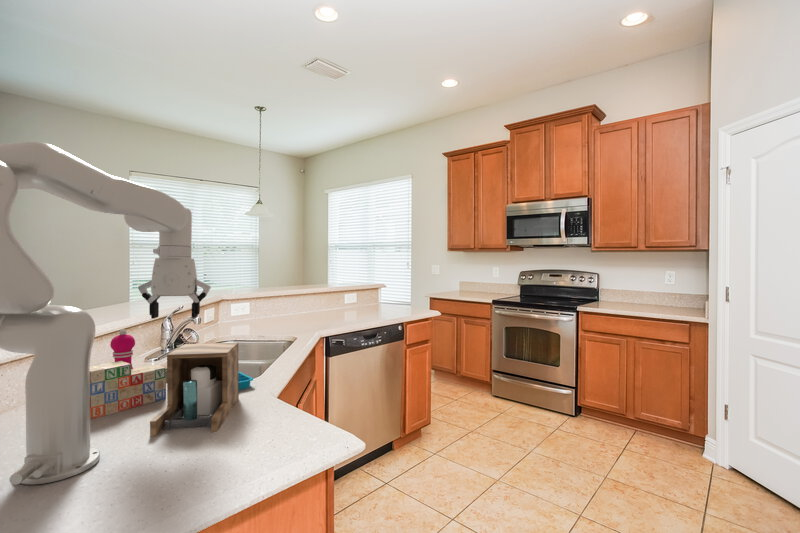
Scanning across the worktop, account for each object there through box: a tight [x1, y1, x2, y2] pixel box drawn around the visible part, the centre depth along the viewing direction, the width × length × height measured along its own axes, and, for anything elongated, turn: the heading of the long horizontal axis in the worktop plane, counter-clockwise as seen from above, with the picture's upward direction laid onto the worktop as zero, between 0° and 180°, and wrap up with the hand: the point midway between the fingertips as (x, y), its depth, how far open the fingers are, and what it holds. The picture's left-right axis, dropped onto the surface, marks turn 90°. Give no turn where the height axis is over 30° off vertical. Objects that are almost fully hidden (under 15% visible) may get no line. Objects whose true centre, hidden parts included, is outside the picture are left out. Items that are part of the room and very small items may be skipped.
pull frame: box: [164, 380, 222, 431], centre depth 105 cm, size 18×11×11 cm, turn 10°
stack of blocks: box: [90, 361, 167, 420], centre depth 110 cm, size 21×6×12 cm, turn 145°
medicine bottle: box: [191, 365, 222, 416], centre depth 108 cm, size 7×7×12 cm
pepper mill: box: [110, 328, 136, 369], centre depth 118 cm, size 7×7×20 cm
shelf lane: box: [149, 342, 240, 437], centre depth 104 cm, size 23×14×16 cm, turn 10°
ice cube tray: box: [238, 370, 254, 391], centre depth 131 cm, size 12×20×3 cm, turn 45°
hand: (175, 317), depth 107 cm, fingers open, 9 cm apart
